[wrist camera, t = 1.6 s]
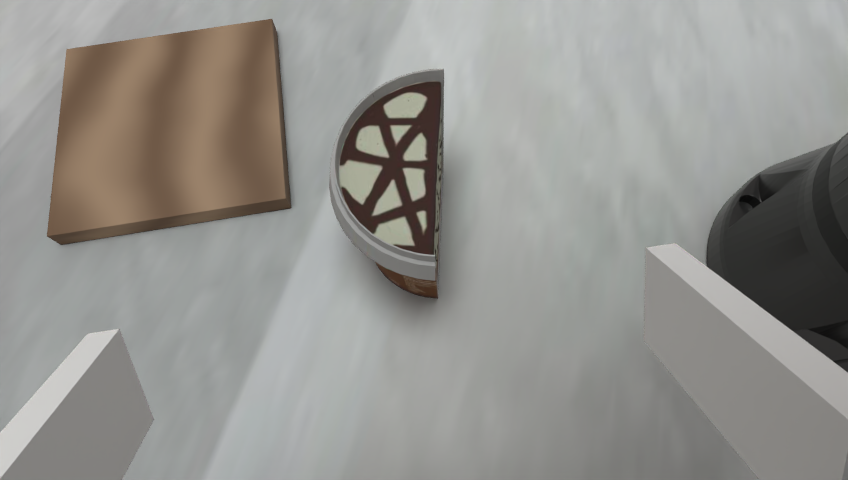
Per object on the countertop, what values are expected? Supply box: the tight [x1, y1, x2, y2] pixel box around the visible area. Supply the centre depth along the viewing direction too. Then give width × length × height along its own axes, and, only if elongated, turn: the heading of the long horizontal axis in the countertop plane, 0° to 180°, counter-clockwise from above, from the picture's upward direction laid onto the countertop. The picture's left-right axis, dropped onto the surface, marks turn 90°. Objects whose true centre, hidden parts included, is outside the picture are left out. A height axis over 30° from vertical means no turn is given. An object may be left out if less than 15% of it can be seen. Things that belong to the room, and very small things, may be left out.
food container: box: [329, 69, 444, 298], centre depth 34 cm, size 12×6×10 cm, turn 177°
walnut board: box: [47, 19, 291, 245], centre depth 42 cm, size 16×16×2 cm
